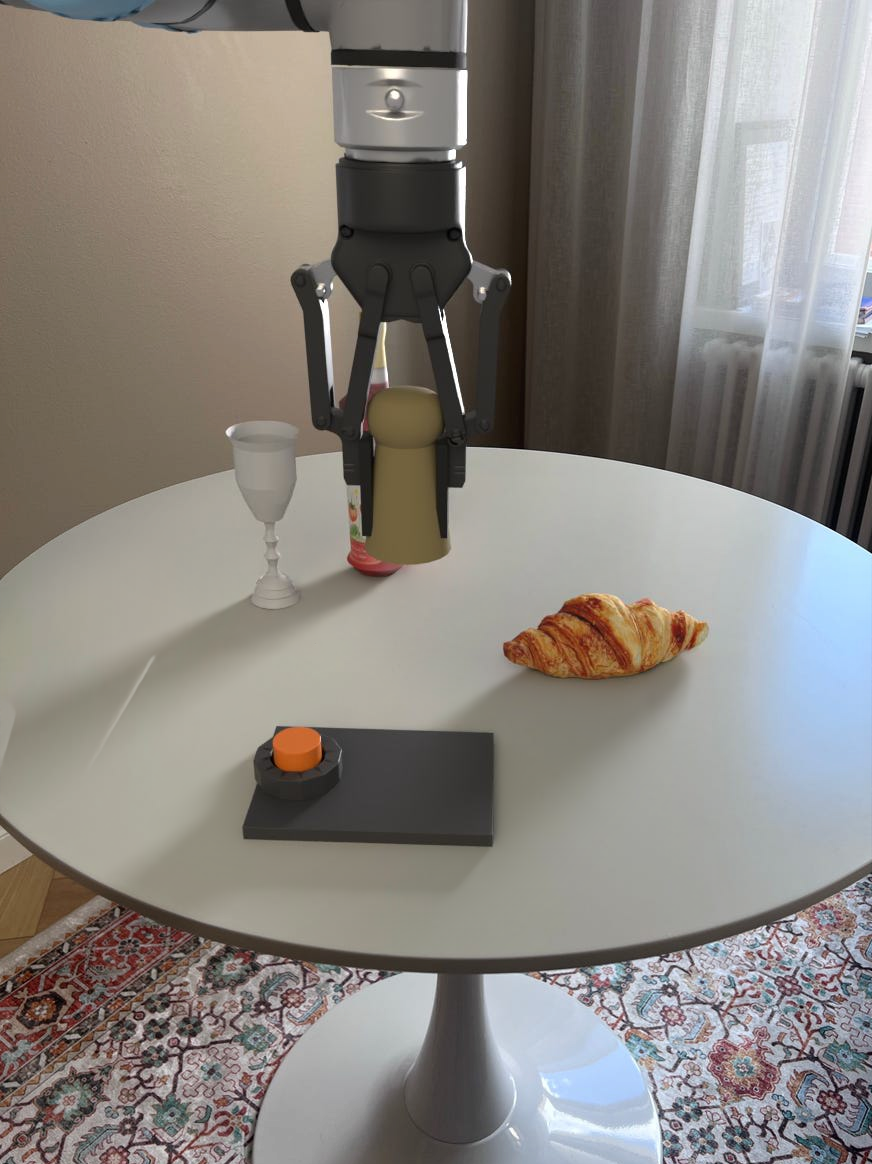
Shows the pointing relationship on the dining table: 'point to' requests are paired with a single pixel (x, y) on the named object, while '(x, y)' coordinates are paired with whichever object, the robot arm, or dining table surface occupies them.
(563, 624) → the croissant
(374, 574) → the liquor
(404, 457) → the cork
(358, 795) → the base
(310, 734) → the switch
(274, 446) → the chalice
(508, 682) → the dining table surface
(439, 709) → the dining table surface
